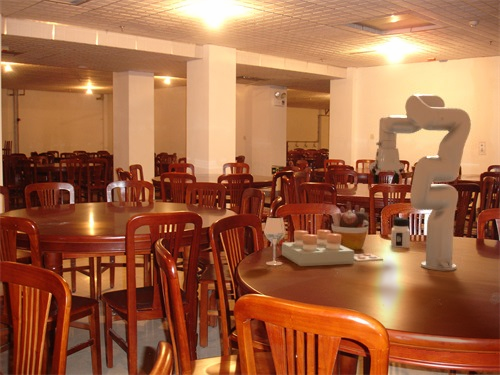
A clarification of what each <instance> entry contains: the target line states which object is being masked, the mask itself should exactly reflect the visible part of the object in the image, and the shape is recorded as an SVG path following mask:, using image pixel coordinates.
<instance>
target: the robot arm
mask: <svg viewBox="0 0 500 375" xmlns="http://www.w3.org/2000/svg"><path fill="white" fill-rule="evenodd" d="M445 106H446V104H445V101H444V99H443V98H442V97H441V96H439V95H435V94H425V93H424V94H423V93H422V94H420V93H417V94H412V95H410V96H409V97H408V98H407V100H406V101H405V106H404V107H405V112H406V114H405V115H388V116H383V117H381V118H380V119H379V123H378V125H379V130H378V132H379V133H378V141H377V142H376V143H375V144H376V146H378V148H377V149H376V152H375V157H374V158H375V159H374V160H375V161H373V162H370V163H369V164H368V168H369V170H370V172H371V173H372V174H373V184H374V185H379V184H380V174H379V173H380V172H381V171H382V172H383V171H389V172H391V171H392V172H393V173H394V174H393V184H397V185H399V182H400V175H401V173H402V172H404V169H405V166H406V165H405V164H404V163H402V162H400V153H399V148H398V147H397V134H405V135H407V134H408V135H409V134H415V133H417V132H419V131H421V130H422V129H423V130H425V131H437V132H441V131H443V132H444V131H446V132H447V131H448V132H447V133H446V135H445V136H444V137H443V138H442V139H441V140H440V143H439V146H438V149H437V150H438V151H437V154H436V155H426V156H423V157H420V159H418V161H417V162H416V164H415V168H414V171H413V176H412V184H411V189H410V193H409V195H410V198H409V199H410V204H411V206H412V207H413V208H414V209H416V210H420V211H430V213H429V215H428V218H427V220H426V221H427V222H426V242H425V243H426V245H425V261H422V262H421V264H420V265H421V267H422V268H424V269H427V270H432V271H443V272H444V271H446V272H447V271H454V270H456V269H457V265H456V264H455V263H453V251H454V247H453V246H454V245H453V244H454V231H455V230H454V228H455V216H456V215H455V214H456V208H457V204H458V201H459V194H458V190H457V189H456V188H455V187H454V186H452V185H450V184H447V183H448V182H454V181H456V180H457V178H458V176H459V174H460V173H459V172H460V169H461V163H462V158H463V153H464V149H465V146H466V142H467V141H468V140H467V139H468V138H469V135H470V133H471V129H472V128H471V126H472V123H471V121H472V120H471V118H470V116H469V113H468V112H466V111H465V110H464V109H461V108H459V107H458V108H457V107H445ZM438 183H439V184H438ZM445 183H446V184H445Z"/></svg>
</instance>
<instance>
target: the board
mask: <svg viewBox="0 0 500 375" xmlns="http://www.w3.org/2000/svg"><path fill="white" fill-rule="evenodd" d="M354 254H355V250H351V249H349V248H346V247H344V246H342V245H340V250H328V249H327V245H324V246H319V245H317V251H304V250H303V246H297V247H296V246H294V242H293V241H291V242H282V243H281V255H282V256H284V257H285V258H287V259H288V260H290V261H291V262H293V263H295V264H297V265H298V266H299V267H307V266H308V267H309V266H311V267H312V266H313V267H314V266H331V265H332V266H333V265H352V264H355V260H354Z"/></svg>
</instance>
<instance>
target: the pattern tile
mask: <svg viewBox="0 0 500 375" xmlns="http://www.w3.org/2000/svg"><path fill="white" fill-rule="evenodd" d="M354 261H356V262H374V261H376V262H377V261H378V262H379V261H384V258H382V257H379V256H377V255H374V254H373V253H354Z"/></svg>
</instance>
